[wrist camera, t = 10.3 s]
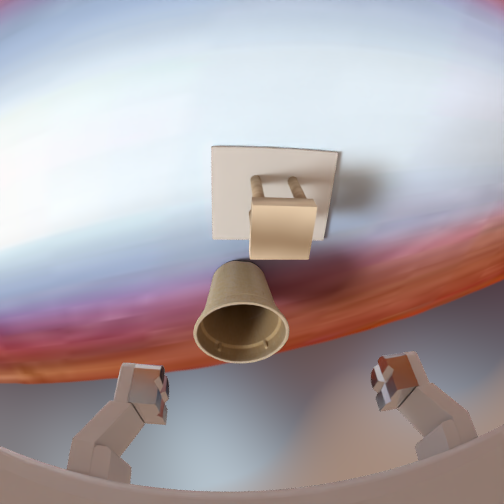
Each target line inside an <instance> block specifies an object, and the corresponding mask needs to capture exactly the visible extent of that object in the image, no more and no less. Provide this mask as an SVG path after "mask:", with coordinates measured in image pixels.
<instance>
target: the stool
mask: <svg viewBox="0 0 504 504" xmlns="http://www.w3.org/2000/svg"><path fill="white" fill-rule="evenodd" d="M250 182H251V189H252V196H253V197H252V201H251V210H250V211H249V220H250V242H249V254H250V260H309V254H310V249H311V243H312V237H313V231H314V225H315V219H316V213H317V205H316V203H315V201H314V200H313V199H307V198H306V196H305V194H304V192H303V190H302V188H301V186H300V184H299V182H298V180H297V178H296V177H294V176H292V177H289V178H288V181H287V182H288V185H289V187H290V190H291V192H292V194H293V197H294V198H275V197H265V196H264V192H263V187H262V183H261V178H260V177H259V176H258V175H254V176H252V177H251V179H250Z"/></svg>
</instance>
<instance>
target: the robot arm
mask: <svg viewBox="0 0 504 504" xmlns="http://www.w3.org/2000/svg"><path fill="white" fill-rule="evenodd" d="M164 374H165V369H164V367H163V366H162V365H145V364H135V363H123V364H122V366H121V369H120V373H119V377H118V382H117V386H116V391H115V396H114V401H109V402H108V403H107V404H106V405H105V406H104V407H103V408H102V409H101V410H100V411H99V412H98V413H97V414H96V415H95V416H94V417H93V418H92V419H91V420H90V421H89V422H88V424H86V426H84V428H83V429H82V430H81V431H80V432H79V433H78V434H77V435H76V436H75V437H74V438H73V439H72V444H71V450H70V454H69V460H68V465H67V470H66V469H62V468H59V467H56V466H52V465H49V464H46V463H43V462H40V461H37V460H35V459H32V458H29V457H26V456H24V455H21V454H18V453H16V452H13V451H11V450H8V449H6V448H4V447H1V446H0V504H504V424H503V425H502V426H500V427H498V428H496V429H494V430H492V431H490V432H488V433H486V434H484V435H482V436H479V437H478V436H477V433H476V430H475V428H474V425H473V423H472V420H471V417H470V415H469V412H468V411H466V410H465V409H464V408H463V407H462V406H460V405H459V404H458V403H457V402H456V401H454V400H453V399H452V398H451V397H449V396H448V395H447V394H446V393H444V392H443V391H442V390H441V389H439V388H438V387H437V386H436V385H434V384H433V383H429V380H428V378H427V376H426V373H425V371H424V369H423V366H422V364H421V362H420V359H419V357H418V355H417V353H416V352H415V351H411V352H404V353H397V354H392V355H386V356H382V357H380V358H379V360H378V365H377V366H375V367H374V368H373V370H372V372H371V384H372V388H373V389H374V390H375V391H376V392H377V393H378V394H377V396H376V401H377V404H378V407H379V411H380V412H381V411H386V410H391V409H397V408H398V411H400V413H401V414H402V415H403V416H404V417H405V418H406V419H407V420H408V421H409V422H410V423H411V424H412V425H413V426H414V427H415V428H416V430H418V432H419V433H420V434H421V435H422V436H423V437H424V438H423V439H422V440H421V441H419V442H418V443H417V444H416V446H415V449H416V453H417V456H418V460H419V461H417V462H414V463H411V464H407V465H404V466H401V467H397V468H394V469H390V470H387V471H383V472H379V473H375V474H371V475H367V476H363V477H359V478H354V479H349V480H344V481H339V482H333V483H328V484H321V485H314V486H307V487H300V488H291V489H280V490H266V491H247V492H246V491H244V492H210V491H209V492H208V491H188V490H175V489H164V488H155V487H148V486H140V485H134V484H130V479H131V467H130V466H129V464H128V463H126V462H125V461H124V460H123V459H122V458H120V456H121V455H122V453H123V452H124V451H125V450H126V448H127V447H128V446H129V444H130V443H131V442H132V441H133V439H134V438H135V437H136V435H137V434H138V433H139V431H140V430H141V429H142V427H143V426H144V423H148V424H162V425H166V418H167V408H166V405H165V402H166V401H167V400H168V399H169V382H168V378H167V376H165V375H164Z"/></svg>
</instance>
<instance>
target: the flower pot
mask: <svg viewBox="0 0 504 504" xmlns="http://www.w3.org/2000/svg"><path fill="white" fill-rule="evenodd" d="M288 337H289V325H288V322H287V320H286V318H285V317H284V315H283V314H282V313H281V312H280V311H279V309H278V308H277V307H276V305H275V303H274V300H273V298H272V295H271V292H270V290H269V287H268V284H267V281H266V279H265V275H264V273H263V272H262V270H261V269H260V268H259V267H258V266H256V265H255V264H253V263H251V262H241V261H231V262H228V263H225V264H224V265H222V266H221V267H219V268H218V269H217V270H216V272H215V273H214V276H213V279H212V283H211V287H210V291H209V295H208V299H207V303H206V306H205V309H204V311H203V312H202V314H201V316H200V317H199V319H198V320H197V322H196V324H195V327H194V339H195V342H196V344H197V345H198V347H199V348H200V349H201V350H202V351H203V352H205V353H206V354H208V355H209V356H211V357H213V358H215V359H218V360H221V361H225V362H231V363H250V362H256V361H259V360H262V359H266V358H267V357H270V356H271V355H273V354H275V353H276V352H277V351H279V350H280V349H281V348H282V347H283V346H284V344H285V343H286V341H287V339H288Z"/></svg>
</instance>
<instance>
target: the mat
mask: <svg viewBox="0 0 504 504" xmlns="http://www.w3.org/2000/svg"><path fill="white" fill-rule="evenodd" d="M337 157H338V153H337V152H331V151H319V150H306V149H291V148H271V147H236V146H212V147H211V171H212V234H213V239H226V240H250V220H249V211H250V210H251V201H252V197H253V196H252V189H251V182H250V179H251V177H252V176H254V175H258V176H259V177H260V178H261V183H262V187H263V192H264V196H265V197H275V198H294V197H293V194H292V192H291V190H290V187H289V185H288V182H287V181H288V178H289V177H292V176H294V177H296V178H297V180H298V182H299V184H300V186H301V188H302V190H303V192H304V194H305V196H306V198H307V199H313V200H314V201H315V203H316V205H317V213H316V219H315V225H314V231H313V237H312V240H322V241H323V238H324V233H325V228H326V223H327V217H328V212H329V206H330V200H331V194H332V188H333V182H334V176H335V170H336V163H337Z"/></svg>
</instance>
